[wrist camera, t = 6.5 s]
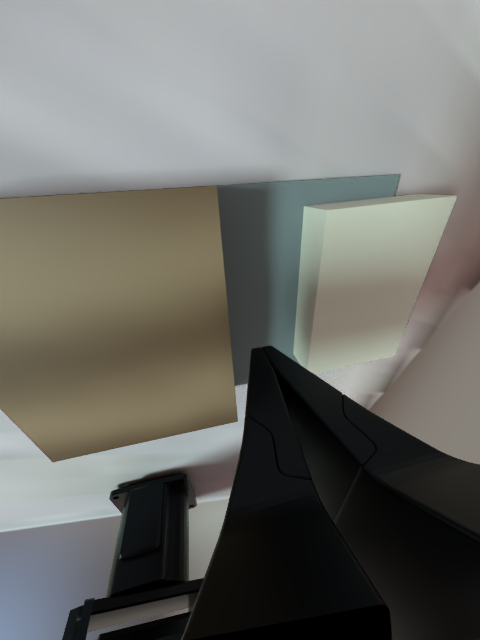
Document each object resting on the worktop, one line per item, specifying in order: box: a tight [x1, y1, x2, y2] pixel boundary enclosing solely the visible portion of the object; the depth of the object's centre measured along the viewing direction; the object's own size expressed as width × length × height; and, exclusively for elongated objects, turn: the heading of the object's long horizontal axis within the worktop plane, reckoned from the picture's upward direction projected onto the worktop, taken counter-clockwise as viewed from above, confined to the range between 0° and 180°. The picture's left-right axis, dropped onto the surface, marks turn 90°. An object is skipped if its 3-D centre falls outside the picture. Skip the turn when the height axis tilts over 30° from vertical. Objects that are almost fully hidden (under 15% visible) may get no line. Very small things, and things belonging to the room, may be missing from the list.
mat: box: [216, 175, 400, 386], centre depth 13 cm, size 12×9×1 cm
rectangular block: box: [293, 194, 457, 374], centre depth 12 cm, size 9×6×2 cm, turn 4°
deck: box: [0, 186, 238, 462], centre depth 10 cm, size 12×10×3 cm
